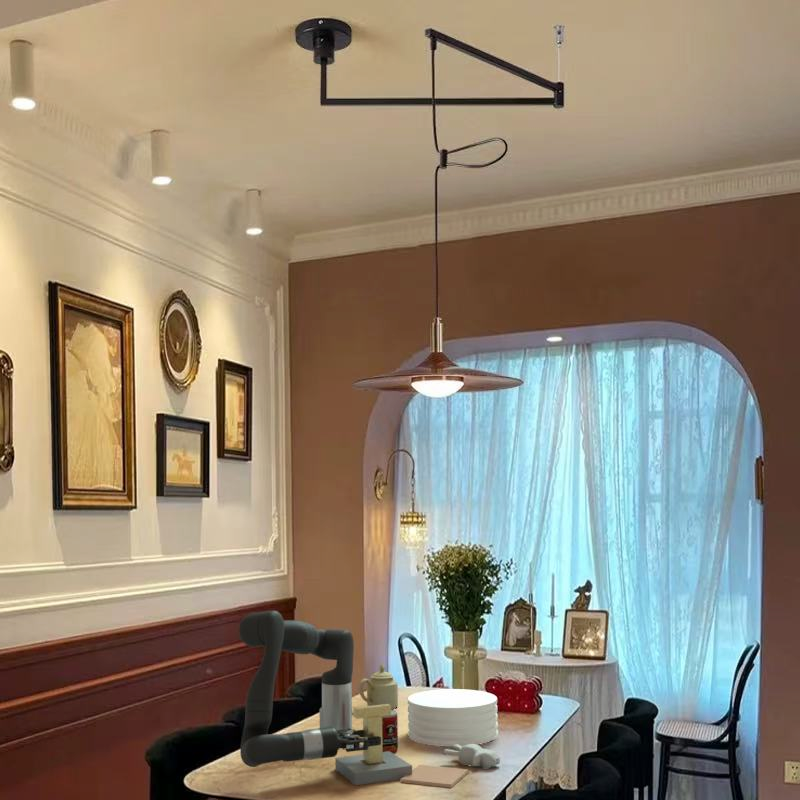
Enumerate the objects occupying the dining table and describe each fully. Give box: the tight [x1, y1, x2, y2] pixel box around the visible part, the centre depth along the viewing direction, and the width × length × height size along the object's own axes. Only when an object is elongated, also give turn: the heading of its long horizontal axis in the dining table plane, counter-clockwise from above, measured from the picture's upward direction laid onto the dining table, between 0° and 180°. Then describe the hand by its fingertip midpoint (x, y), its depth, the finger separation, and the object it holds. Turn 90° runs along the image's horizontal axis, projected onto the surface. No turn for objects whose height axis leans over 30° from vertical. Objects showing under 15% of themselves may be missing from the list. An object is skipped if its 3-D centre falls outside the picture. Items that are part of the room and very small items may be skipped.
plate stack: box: [407, 688, 499, 747], centre depth 289 cm, size 28×28×12 cm
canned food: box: [382, 709, 399, 754], centre depth 272 cm, size 8×8×11 cm
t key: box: [353, 704, 392, 766], centre depth 250 cm, size 10×4×18 cm, turn 113°
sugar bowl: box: [358, 664, 399, 710], centre depth 329 cm, size 15×11×15 cm
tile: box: [400, 764, 469, 788], centre depth 244 cm, size 14×14×1 cm
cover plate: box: [334, 751, 413, 786], centre depth 249 cm, size 16×16×3 cm
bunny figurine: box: [442, 744, 501, 769], centre depth 256 cm, size 10×5×15 cm
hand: (374, 736), depth 250 cm, fingers open, 8 cm apart
